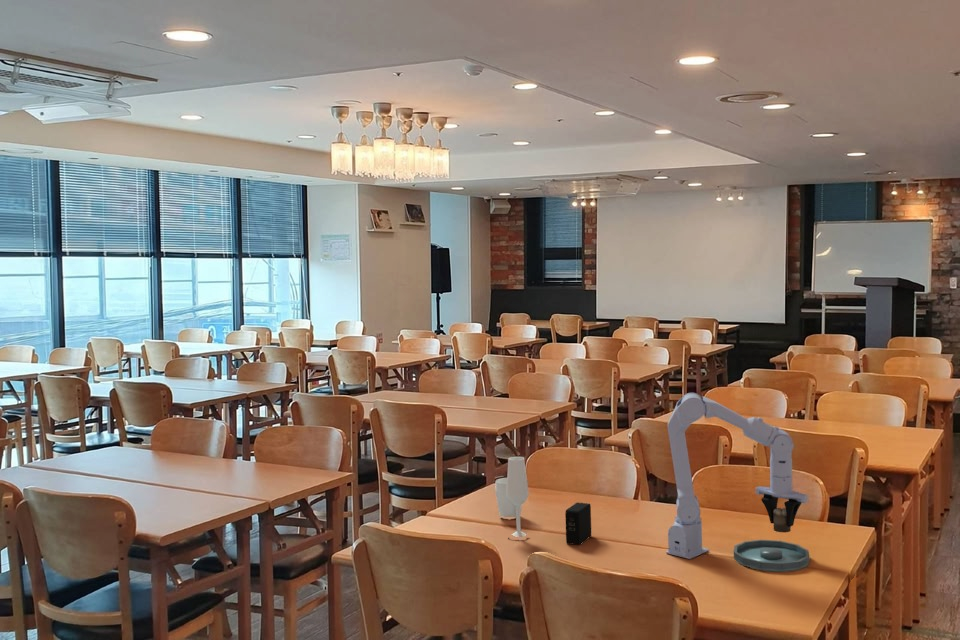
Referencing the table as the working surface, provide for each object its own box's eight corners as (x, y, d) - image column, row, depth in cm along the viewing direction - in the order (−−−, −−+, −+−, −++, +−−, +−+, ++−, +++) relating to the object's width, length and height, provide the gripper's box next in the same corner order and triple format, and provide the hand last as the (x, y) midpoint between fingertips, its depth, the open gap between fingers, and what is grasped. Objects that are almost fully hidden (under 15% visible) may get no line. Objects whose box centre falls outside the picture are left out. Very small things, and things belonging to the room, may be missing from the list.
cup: (491, 516, 293) (490, 479, 293) (516, 511, 297) (515, 476, 296) (503, 523, 285) (502, 485, 284) (529, 518, 289) (527, 481, 288)
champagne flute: (534, 538, 269) (532, 458, 267) (515, 542, 265) (513, 462, 264) (521, 532, 275) (519, 454, 273) (503, 536, 271) (500, 458, 269)
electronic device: (565, 544, 262) (564, 510, 262) (578, 534, 271) (577, 501, 270) (579, 545, 260) (578, 511, 260) (591, 535, 269) (590, 502, 268)
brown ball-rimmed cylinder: (785, 533, 243) (785, 512, 243) (770, 530, 247) (770, 509, 246) (793, 529, 246) (793, 508, 246) (778, 526, 250) (778, 506, 249)
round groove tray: (786, 577, 229) (785, 568, 229) (720, 560, 244) (720, 552, 243) (822, 558, 242) (822, 550, 242) (757, 543, 257) (757, 535, 256)
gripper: (813, 476, 243) (814, 526, 244) (764, 468, 253) (765, 516, 254) (800, 481, 238) (801, 532, 239) (751, 473, 249) (752, 521, 250)
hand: (781, 524), depth 246 cm, fingers closed on brown ball-rimmed cylinder, 4 cm apart
